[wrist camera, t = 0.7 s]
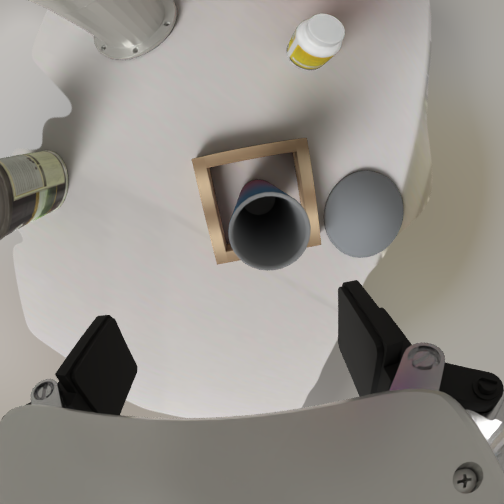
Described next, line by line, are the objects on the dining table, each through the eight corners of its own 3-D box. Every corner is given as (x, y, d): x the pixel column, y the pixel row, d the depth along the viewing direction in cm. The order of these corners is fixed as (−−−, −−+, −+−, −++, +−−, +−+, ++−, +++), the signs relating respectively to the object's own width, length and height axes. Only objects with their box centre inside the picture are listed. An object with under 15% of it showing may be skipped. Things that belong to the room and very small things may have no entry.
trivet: (318, 176, 36) (319, 177, 35) (399, 167, 35) (401, 167, 35) (327, 263, 41) (329, 265, 40) (401, 247, 40) (403, 248, 40)
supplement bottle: (329, 69, 30) (357, 49, 21) (291, 73, 30) (309, 51, 21) (319, 36, 28) (342, 8, 19) (281, 39, 28) (294, 9, 19)
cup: (292, 186, 36) (325, 214, 22) (270, 230, 38) (287, 281, 24) (246, 164, 35) (250, 177, 21) (224, 210, 37) (215, 252, 23)
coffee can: (70, 214, 36) (13, 246, 23) (27, 211, 35) (-28, 239, 22) (70, 147, 32) (7, 157, 19) (26, 151, 31) (-34, 164, 18)
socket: (195, 157, 34) (191, 159, 31) (301, 138, 34) (306, 137, 31) (218, 255, 39) (217, 264, 37) (315, 237, 39) (321, 244, 36)
